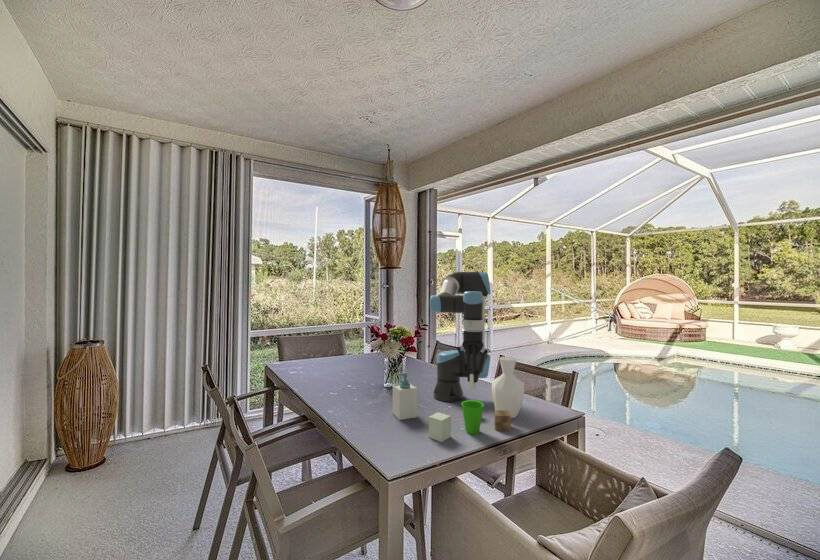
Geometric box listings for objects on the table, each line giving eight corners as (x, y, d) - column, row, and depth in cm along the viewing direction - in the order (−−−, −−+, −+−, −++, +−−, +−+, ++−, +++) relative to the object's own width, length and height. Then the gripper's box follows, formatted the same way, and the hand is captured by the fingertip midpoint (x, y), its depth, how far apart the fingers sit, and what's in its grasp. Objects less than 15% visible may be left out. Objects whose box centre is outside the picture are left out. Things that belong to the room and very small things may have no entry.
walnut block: (495, 430, 147) (495, 415, 147) (494, 424, 152) (494, 410, 152) (510, 431, 145) (510, 416, 145) (509, 425, 151) (509, 411, 151)
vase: (506, 423, 153) (506, 363, 153) (484, 412, 166) (484, 357, 166) (531, 417, 160) (531, 360, 160) (508, 407, 172) (508, 354, 172)
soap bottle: (392, 413, 164) (392, 371, 164) (410, 410, 168) (410, 369, 168) (399, 420, 156) (399, 375, 156) (417, 417, 160) (417, 373, 160)
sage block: (428, 437, 140) (428, 416, 140) (438, 432, 144) (438, 412, 144) (441, 442, 136) (441, 420, 136) (450, 436, 140) (450, 415, 140)
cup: (458, 427, 149) (458, 400, 149) (480, 426, 150) (480, 399, 150) (463, 437, 140) (464, 408, 140) (487, 436, 141) (487, 407, 141)
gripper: (453, 330, 145) (453, 390, 145) (485, 332, 138) (485, 395, 138) (461, 328, 151) (460, 385, 151) (491, 330, 145) (491, 390, 145)
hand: (472, 390), depth 145 cm, fingers closed
